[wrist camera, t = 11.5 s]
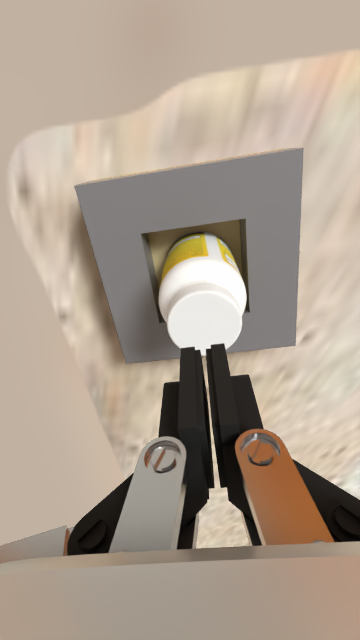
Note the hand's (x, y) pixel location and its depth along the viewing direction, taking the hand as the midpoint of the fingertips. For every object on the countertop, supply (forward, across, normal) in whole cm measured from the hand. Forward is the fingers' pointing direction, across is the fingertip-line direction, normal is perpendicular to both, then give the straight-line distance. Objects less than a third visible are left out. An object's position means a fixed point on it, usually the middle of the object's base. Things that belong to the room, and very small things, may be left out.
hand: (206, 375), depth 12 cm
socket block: (+15, 0, 0) cm, 15 cm away
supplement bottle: (+14, 0, 0) cm, 14 cm away
